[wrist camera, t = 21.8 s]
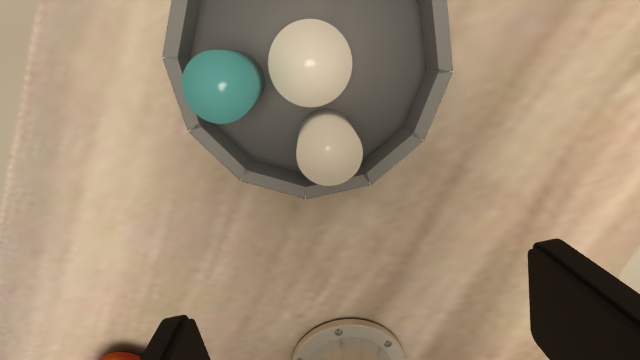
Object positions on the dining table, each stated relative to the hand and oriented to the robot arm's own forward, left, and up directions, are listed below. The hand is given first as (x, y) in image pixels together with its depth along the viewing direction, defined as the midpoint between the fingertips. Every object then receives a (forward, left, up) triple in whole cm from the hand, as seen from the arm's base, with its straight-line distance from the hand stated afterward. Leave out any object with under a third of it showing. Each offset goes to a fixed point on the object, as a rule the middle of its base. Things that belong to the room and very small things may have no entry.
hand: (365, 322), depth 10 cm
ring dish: (+6, 0, -23) cm, 24 cm away
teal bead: (+6, +6, -22) cm, 23 cm away
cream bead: (0, 0, -22) cm, 22 cm away
